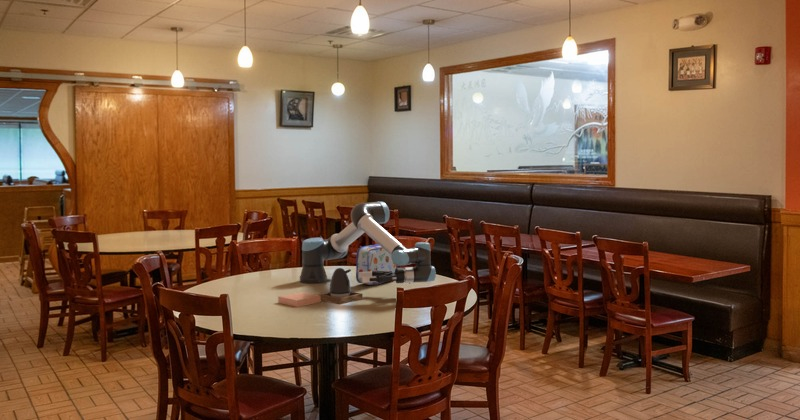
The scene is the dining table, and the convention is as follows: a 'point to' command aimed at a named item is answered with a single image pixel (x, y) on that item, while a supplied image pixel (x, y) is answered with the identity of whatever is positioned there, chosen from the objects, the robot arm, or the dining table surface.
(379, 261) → the lunch box
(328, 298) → the brown wooden trivet
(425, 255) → the robot arm
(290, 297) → the stand
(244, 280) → the dining table surface
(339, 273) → the pump dispenser
